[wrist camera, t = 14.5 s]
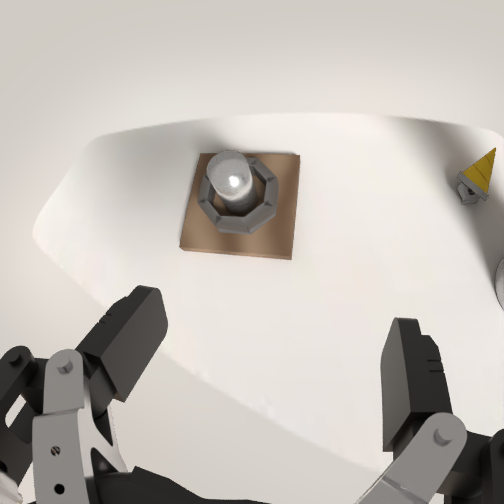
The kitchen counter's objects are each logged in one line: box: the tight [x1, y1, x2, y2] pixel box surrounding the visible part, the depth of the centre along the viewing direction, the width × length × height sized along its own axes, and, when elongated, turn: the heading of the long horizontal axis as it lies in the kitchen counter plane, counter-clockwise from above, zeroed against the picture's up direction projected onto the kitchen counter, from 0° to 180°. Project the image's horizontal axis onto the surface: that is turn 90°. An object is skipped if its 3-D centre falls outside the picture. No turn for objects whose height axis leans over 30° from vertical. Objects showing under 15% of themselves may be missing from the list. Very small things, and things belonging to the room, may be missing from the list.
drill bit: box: [457, 148, 496, 204], centre depth 33 cm, size 5×5×10 cm
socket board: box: [179, 153, 300, 260], centre depth 39 cm, size 14×14×4 cm
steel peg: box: [207, 150, 259, 216], centre depth 36 cm, size 4×4×8 cm
